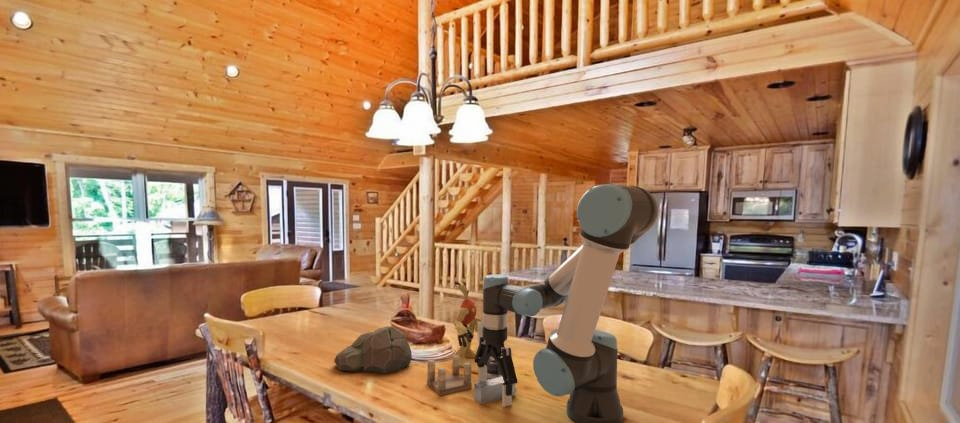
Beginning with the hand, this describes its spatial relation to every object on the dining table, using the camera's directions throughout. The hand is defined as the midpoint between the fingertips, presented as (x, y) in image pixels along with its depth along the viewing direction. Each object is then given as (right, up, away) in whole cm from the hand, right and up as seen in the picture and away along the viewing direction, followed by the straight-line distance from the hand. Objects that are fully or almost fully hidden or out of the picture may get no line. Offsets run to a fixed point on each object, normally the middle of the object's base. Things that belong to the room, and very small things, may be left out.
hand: (494, 396), depth 127 cm
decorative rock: (-42, 0, +26) cm, 50 cm away
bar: (0, 0, 0) cm, 0 cm away
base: (0, 0, +15) cm, 15 cm away
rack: (-14, 0, +7) cm, 16 cm away
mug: (0, 0, +46) cm, 46 cm away
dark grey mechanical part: (+2, +2, +12) cm, 12 cm away
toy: (-9, 0, +28) cm, 29 cm away
